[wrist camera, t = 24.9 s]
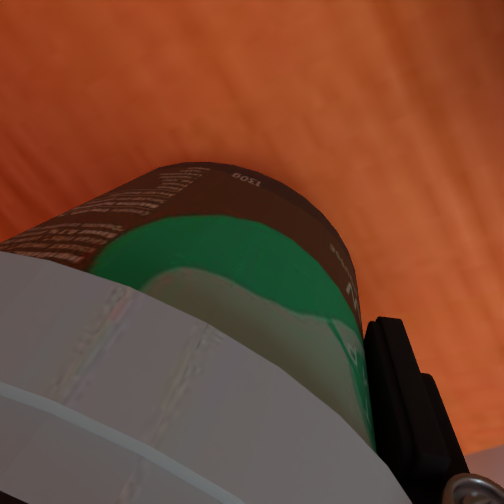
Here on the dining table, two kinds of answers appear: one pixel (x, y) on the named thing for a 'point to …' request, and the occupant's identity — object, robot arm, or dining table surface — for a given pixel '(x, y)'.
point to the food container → (186, 351)
